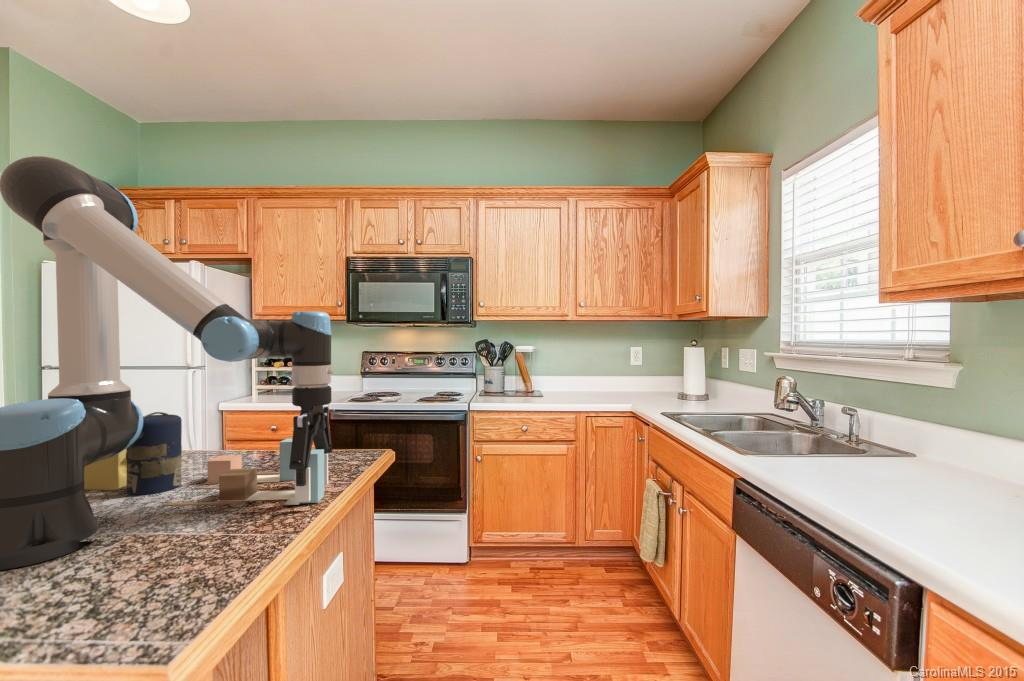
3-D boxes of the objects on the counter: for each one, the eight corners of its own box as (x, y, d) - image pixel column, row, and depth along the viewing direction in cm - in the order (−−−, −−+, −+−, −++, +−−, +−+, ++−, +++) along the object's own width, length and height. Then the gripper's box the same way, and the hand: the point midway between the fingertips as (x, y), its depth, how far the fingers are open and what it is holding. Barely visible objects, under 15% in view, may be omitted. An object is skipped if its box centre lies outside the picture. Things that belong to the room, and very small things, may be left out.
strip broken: (294, 486, 104) (294, 442, 104) (204, 489, 103) (204, 444, 103) (303, 479, 110) (303, 437, 110) (218, 481, 108) (218, 439, 108)
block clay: (230, 482, 103) (230, 460, 103) (207, 483, 103) (207, 461, 103) (241, 476, 108) (241, 454, 108) (219, 476, 108) (219, 455, 108)
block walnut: (245, 499, 92) (245, 475, 92) (219, 500, 92) (219, 475, 92) (257, 491, 97) (257, 468, 97) (232, 492, 97) (232, 468, 97)
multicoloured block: (316, 504, 93) (316, 454, 93) (215, 507, 91) (215, 457, 91) (325, 494, 98) (325, 448, 98) (230, 497, 97) (230, 450, 97)
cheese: (159, 477, 113) (158, 437, 113) (117, 492, 102) (116, 447, 102) (120, 476, 114) (120, 436, 114) (74, 490, 103) (74, 446, 103)
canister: (117, 497, 98) (117, 413, 98) (167, 485, 106) (167, 407, 106) (140, 505, 93) (139, 417, 93) (190, 491, 102) (190, 410, 102)
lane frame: (237, 510, 90) (237, 502, 90) (162, 513, 89) (162, 504, 89) (282, 478, 111) (282, 471, 111) (222, 480, 110) (222, 473, 110)
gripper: (310, 391, 85) (311, 511, 85) (345, 380, 107) (346, 475, 107) (268, 392, 84) (269, 513, 84) (312, 381, 107) (313, 476, 107)
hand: (312, 492), depth 96 cm, fingers open, 10 cm apart
